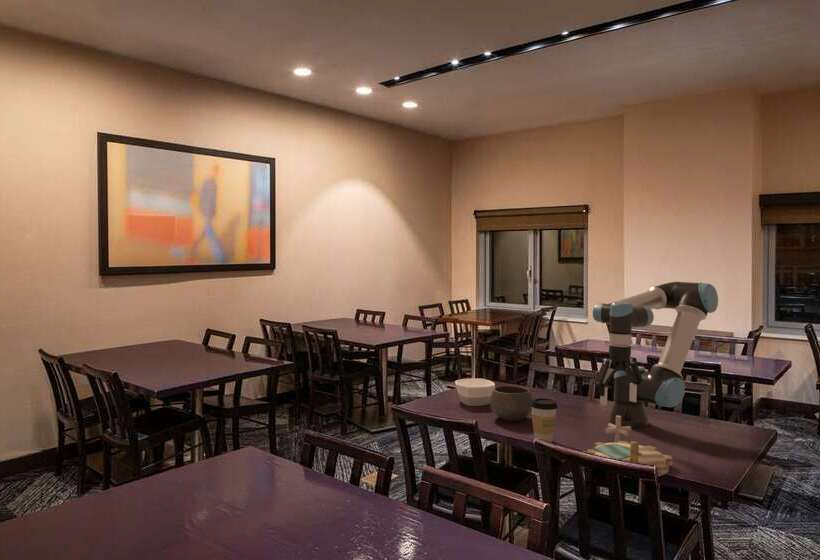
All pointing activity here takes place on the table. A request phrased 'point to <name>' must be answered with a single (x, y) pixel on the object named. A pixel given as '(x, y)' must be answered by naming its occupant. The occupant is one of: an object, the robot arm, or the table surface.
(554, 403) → the coffee cup
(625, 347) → the robot arm
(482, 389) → the bowl
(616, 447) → the sprocket
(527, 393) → the bowl
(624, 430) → the light wooden cross
